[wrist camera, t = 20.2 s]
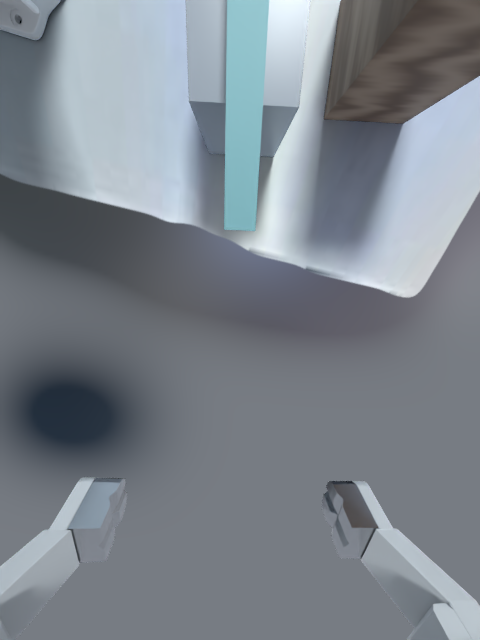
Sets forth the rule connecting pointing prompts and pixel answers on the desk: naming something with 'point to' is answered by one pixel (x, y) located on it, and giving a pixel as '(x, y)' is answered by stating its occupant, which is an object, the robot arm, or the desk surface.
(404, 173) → the desk surface
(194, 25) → the slate base
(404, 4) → the walnut pedestal
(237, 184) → the teal bar
